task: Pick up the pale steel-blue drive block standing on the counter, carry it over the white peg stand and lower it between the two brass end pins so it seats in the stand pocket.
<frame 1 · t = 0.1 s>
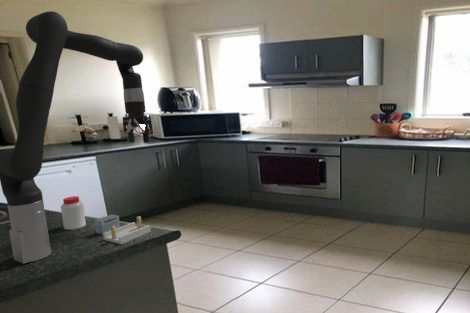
hand: (139, 142, 144), 29 cm above the worktop, fingers open, 8 cm apart
drive: (108, 231, 131), on the worktop
white peg stand: (127, 235, 124), on the worktop
pill bottle: (75, 226, 140), on the worktop
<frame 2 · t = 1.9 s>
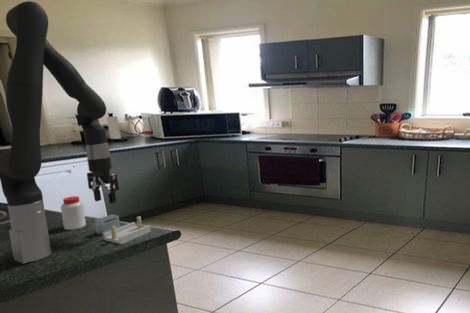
hand: (105, 201, 129), 11 cm above the worktop, fingers open, 8 cm apart
nothing on the worktop moved.
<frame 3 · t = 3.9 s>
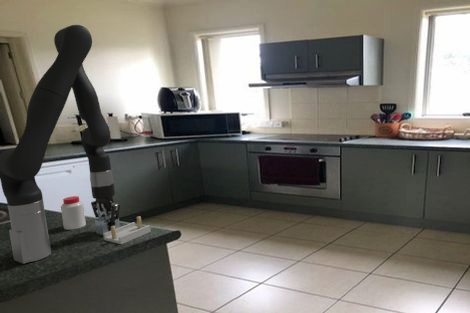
hand: (108, 230, 131), 0 cm above the worktop, fingers closed on drive, 4 cm apart
drive: (108, 231, 131), on the worktop, touching gripper
everything else where it was.
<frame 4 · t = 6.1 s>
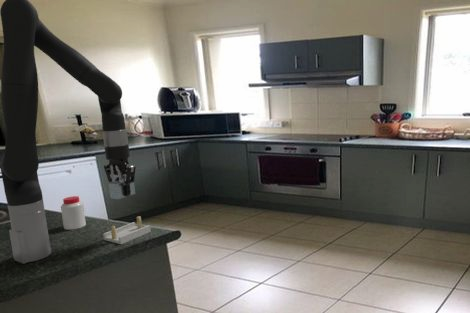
hand: (122, 194, 122), 14 cm above the worktop, fingers closed on drive, 4 cm apart
drive: (123, 195, 122), point 14 cm above the worktop, touching gripper
everything else where it was.
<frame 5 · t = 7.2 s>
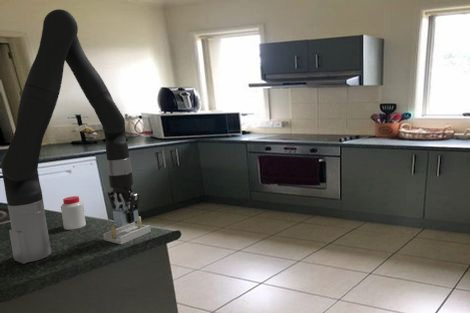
hand: (126, 221, 124), 5 cm above the worktop, fingers closed on drive, 4 cm apart
drive: (126, 222, 124), point 4 cm above the worktop, touching gripper
everything else where it was.
when the fingers open (3 cm above the worktop, at t = 8.2 s): drive drops 2 cm, resting on white peg stand.
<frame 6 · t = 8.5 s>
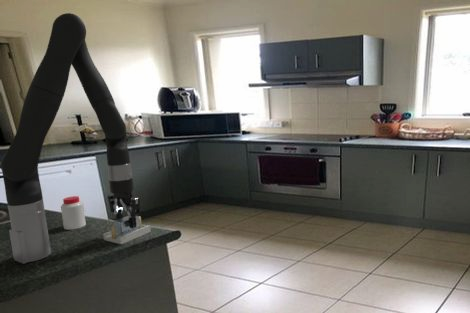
hand: (126, 226, 124), 3 cm above the worktop, fingers open, 6 cm apart
drive: (127, 232, 124), point 1 cm above the worktop, touching white peg stand
everything else where it was.
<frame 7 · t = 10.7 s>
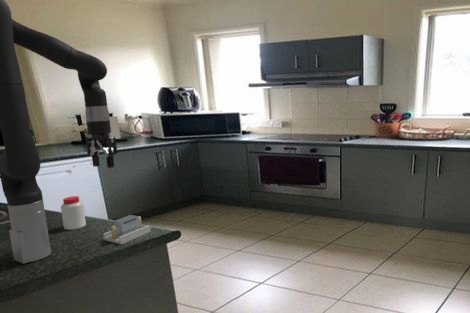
hand: (103, 166, 127), 23 cm above the worktop, fingers open, 8 cm apart
nothing on the worktop moved.
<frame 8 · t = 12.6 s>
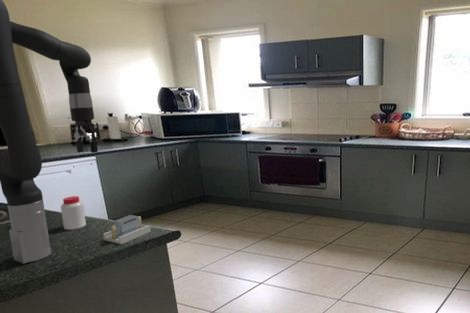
hand: (87, 152, 132), 28 cm above the worktop, fingers open, 8 cm apart
nothing on the worktop moved.
at the end: drive 0.1 cm off-centre on the white peg stand, point 1.0 cm above the white peg stand's base; drive tilted 0°; the gripper is holding nothing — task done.
